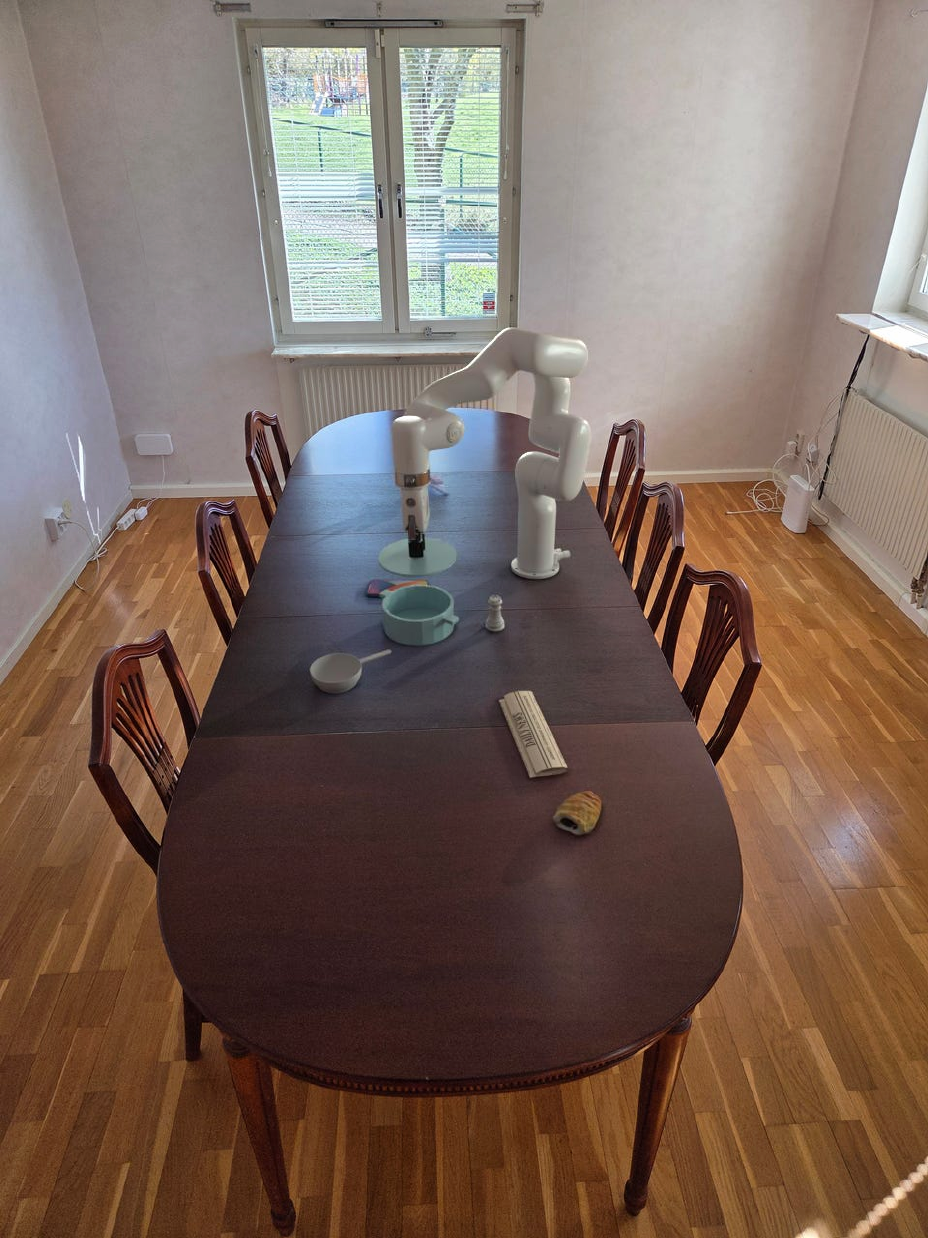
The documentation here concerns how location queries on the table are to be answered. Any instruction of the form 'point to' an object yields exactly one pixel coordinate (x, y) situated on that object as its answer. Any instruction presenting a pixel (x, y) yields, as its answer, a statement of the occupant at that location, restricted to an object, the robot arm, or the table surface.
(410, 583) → the smartphone
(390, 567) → the lid
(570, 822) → the pastry
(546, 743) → the newspaper
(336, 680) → the saucepan
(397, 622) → the pot
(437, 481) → the water lily
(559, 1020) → the table surface
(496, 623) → the rook chess piece
